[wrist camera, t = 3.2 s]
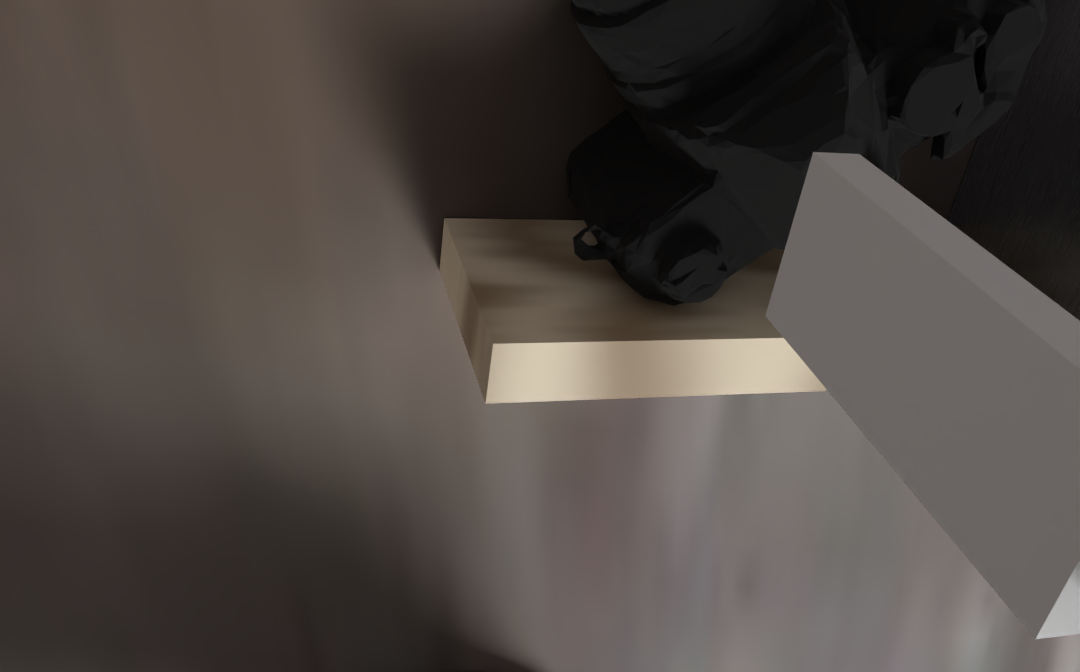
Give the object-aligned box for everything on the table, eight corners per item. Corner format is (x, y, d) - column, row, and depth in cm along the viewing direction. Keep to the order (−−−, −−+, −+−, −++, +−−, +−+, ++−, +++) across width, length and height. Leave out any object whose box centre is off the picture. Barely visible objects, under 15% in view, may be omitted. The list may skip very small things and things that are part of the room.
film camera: (840, -285, 29) (1044, -276, 22) (947, -10, 34) (1139, 71, 27) (425, 42, 31) (483, 153, 24) (588, 253, 36) (676, 395, 29)
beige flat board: (439, 270, 35) (485, 403, 29) (444, 218, 34) (493, 343, 28) (1011, 270, 42) (1154, 378, 35) (1029, 227, 41) (1180, 329, 34)
